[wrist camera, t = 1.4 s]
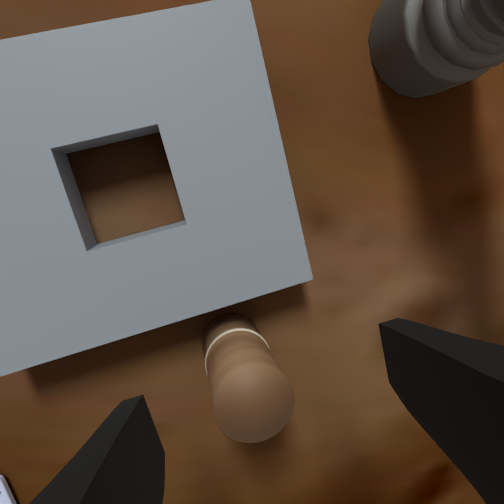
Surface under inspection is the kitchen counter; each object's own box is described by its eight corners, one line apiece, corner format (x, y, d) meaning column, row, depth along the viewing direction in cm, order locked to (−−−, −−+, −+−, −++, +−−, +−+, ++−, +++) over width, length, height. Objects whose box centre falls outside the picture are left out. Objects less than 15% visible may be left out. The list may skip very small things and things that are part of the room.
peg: (265, 357, 23) (303, 427, 16) (210, 376, 23) (225, 455, 16) (251, 304, 22) (285, 354, 16) (194, 323, 22) (203, 382, 15)
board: (298, 269, 23) (313, 279, 20) (19, 354, 20) (-2, 377, 18) (239, 18, 20) (248, -7, 17) (-94, 82, 17) (-137, 65, 15)
